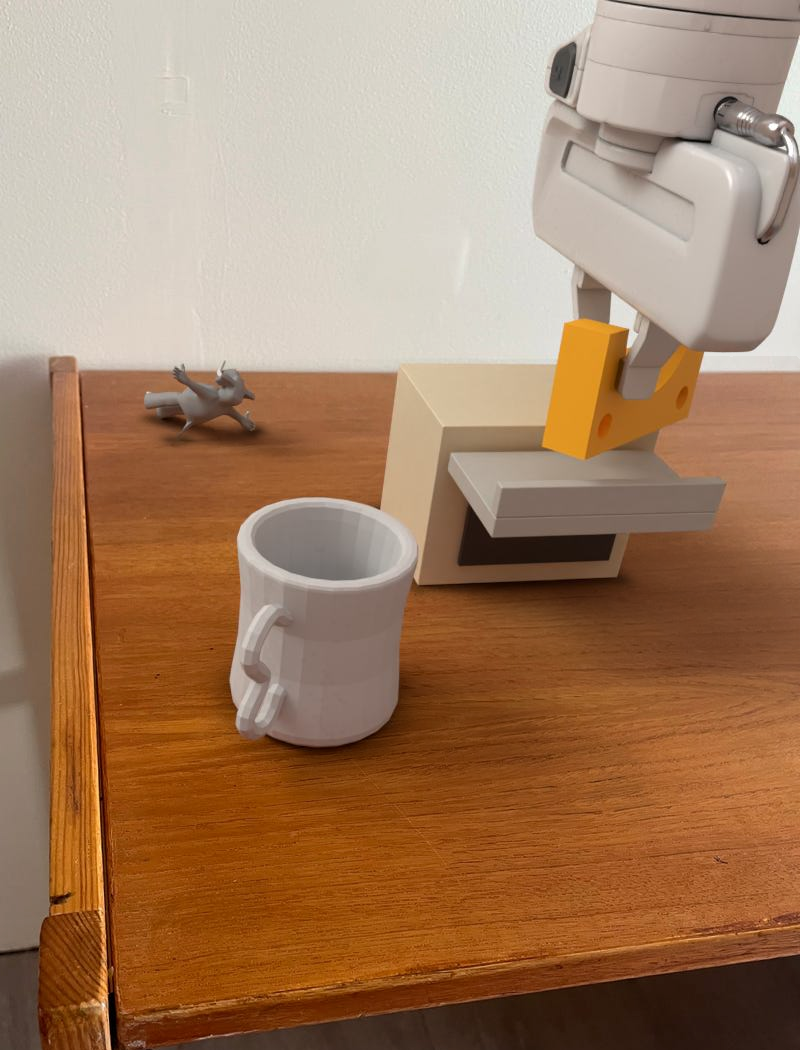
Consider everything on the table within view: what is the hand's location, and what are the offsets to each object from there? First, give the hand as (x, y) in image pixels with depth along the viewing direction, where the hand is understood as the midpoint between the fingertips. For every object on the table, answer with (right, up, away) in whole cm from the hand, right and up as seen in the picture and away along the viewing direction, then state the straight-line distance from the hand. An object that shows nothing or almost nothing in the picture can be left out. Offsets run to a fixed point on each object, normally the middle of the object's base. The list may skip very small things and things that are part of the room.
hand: (607, 374), depth 55 cm
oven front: (-2, -10, +13) cm, 17 cm away
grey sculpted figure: (-25, +2, +27) cm, 37 cm away
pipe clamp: (+1, -2, +4) cm, 4 cm away
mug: (-17, -18, 0) cm, 25 cm away
